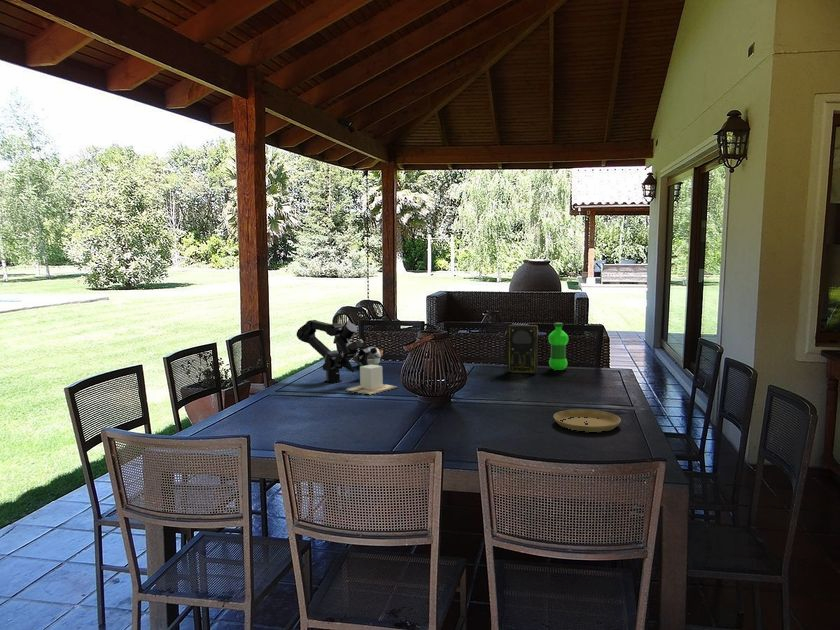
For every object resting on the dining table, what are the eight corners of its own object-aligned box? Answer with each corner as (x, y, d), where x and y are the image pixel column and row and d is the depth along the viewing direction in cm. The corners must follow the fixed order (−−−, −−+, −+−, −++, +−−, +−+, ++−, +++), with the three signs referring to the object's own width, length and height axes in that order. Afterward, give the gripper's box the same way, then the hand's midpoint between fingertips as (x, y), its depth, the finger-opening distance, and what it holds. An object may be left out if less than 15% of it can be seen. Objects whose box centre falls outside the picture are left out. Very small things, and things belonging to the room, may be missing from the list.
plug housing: (371, 389, 291) (370, 368, 290) (360, 387, 296) (359, 366, 295) (382, 387, 297) (382, 366, 296) (371, 384, 302) (371, 364, 301)
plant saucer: (571, 413, 251) (571, 405, 251) (630, 423, 236) (631, 415, 236) (541, 427, 233) (541, 418, 232) (604, 439, 218) (604, 430, 217)
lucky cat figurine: (366, 363, 363) (377, 342, 361) (379, 373, 356) (390, 352, 353) (348, 359, 352) (359, 337, 350) (360, 370, 344) (372, 348, 342)
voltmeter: (506, 373, 329) (506, 325, 326) (509, 370, 337) (509, 323, 335) (536, 374, 325) (537, 326, 322) (538, 371, 333) (539, 324, 330)
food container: (369, 381, 316) (368, 361, 315) (360, 379, 320) (359, 360, 319) (385, 376, 326) (384, 357, 325) (376, 375, 329) (375, 356, 328)
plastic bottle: (544, 368, 339) (545, 322, 337) (562, 367, 343) (562, 321, 340) (554, 372, 330) (554, 324, 327) (571, 370, 333) (572, 323, 330)
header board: (345, 390, 295) (345, 381, 295) (372, 384, 309) (372, 375, 308) (370, 395, 285) (369, 386, 284) (397, 388, 298) (396, 379, 298)
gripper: (337, 336, 295) (354, 363, 289) (367, 332, 309) (383, 357, 303) (327, 351, 301) (343, 377, 295) (356, 346, 315) (372, 371, 309)
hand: (361, 370), depth 300 cm, fingers open, 9 cm apart
